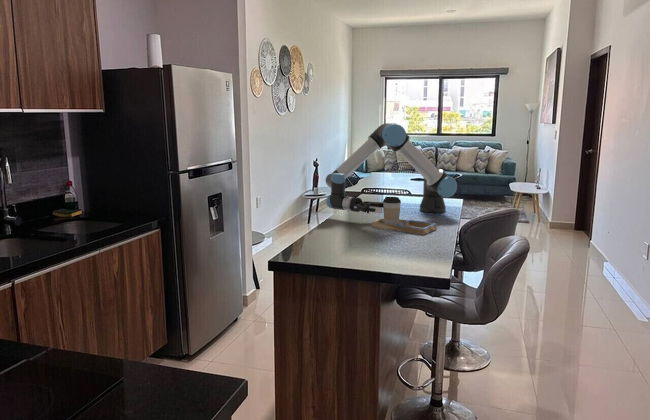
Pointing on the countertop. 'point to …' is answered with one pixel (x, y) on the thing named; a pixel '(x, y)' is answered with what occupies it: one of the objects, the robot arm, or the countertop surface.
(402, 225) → the oak rack
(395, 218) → the coffee cup
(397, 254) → the countertop surface
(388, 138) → the robot arm
